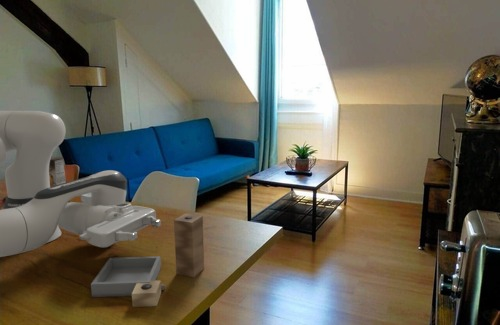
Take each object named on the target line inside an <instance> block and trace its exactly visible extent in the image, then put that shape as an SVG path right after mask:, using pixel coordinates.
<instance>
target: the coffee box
mask: <svg viewBox="0 0 500 325" xmlns="http://www.w3.org/2000/svg"><path fill="white" fill-rule="evenodd" d="M50 175H53V178H52V183H53V186H54V185H59V184H63V183H66V172H65V160H64V157H55V156H53V157H52V156H51V159H50V163H49V176H50Z"/></svg>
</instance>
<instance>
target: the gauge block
mask: <svg viewBox="0 0 500 325" xmlns="http://www.w3.org/2000/svg"><path fill="white" fill-rule="evenodd" d="M161 282H162V281H161V280H158V279H157V280H156V281H150V283H137V284H136V286H135V288H134V290H133V292H132V296H131V300H132V301H131V303H132V308H136V307H137V308H139V307H142V308H143V307H157V306H158V303H159V300H160V298H161V294H162V291H164V290H165V289H166V284H164V283H162V284H161Z"/></svg>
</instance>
